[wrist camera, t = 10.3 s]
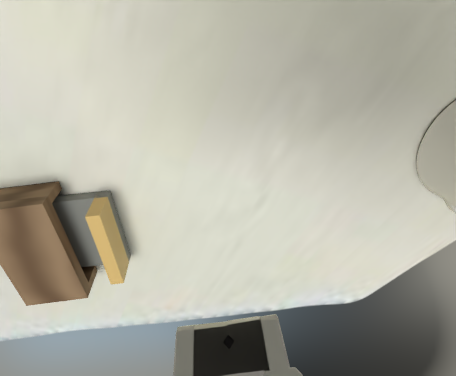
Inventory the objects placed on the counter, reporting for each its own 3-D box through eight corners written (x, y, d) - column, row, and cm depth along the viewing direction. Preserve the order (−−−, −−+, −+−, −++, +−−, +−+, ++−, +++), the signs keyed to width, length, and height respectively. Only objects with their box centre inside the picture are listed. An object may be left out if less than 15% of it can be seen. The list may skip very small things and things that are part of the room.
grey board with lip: (110, 189, 39) (99, 215, 34) (131, 253, 44) (123, 282, 40) (15, 199, 38) (-8, 227, 34) (47, 263, 44) (30, 293, 39)
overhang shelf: (58, 181, 37) (42, 203, 33) (97, 270, 45) (87, 297, 41) (-9, 189, 37) (-33, 213, 33) (41, 278, 45) (26, 305, 41)
